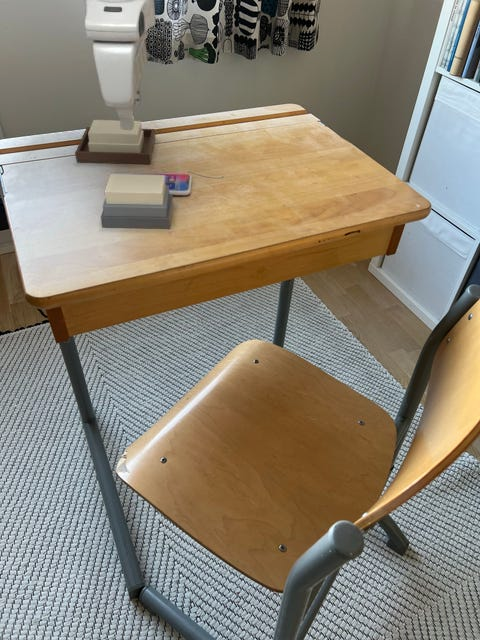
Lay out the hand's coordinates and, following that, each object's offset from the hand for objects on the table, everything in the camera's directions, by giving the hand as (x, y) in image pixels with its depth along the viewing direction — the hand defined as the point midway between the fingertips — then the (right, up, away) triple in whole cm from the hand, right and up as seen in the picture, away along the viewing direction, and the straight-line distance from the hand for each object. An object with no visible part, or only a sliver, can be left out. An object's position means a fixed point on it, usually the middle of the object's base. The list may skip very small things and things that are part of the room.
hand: (131, 115), depth 76 cm
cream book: (-1, -10, +8) cm, 13 cm away
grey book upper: (-1, -11, +9) cm, 15 cm away
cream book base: (-9, +5, +28) cm, 30 cm away
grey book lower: (-1, -13, +11) cm, 17 cm away
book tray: (-9, +4, +28) cm, 30 cm away
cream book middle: (-9, +6, +27) cm, 29 cm away
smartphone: (0, -6, +18) cm, 19 cm away
